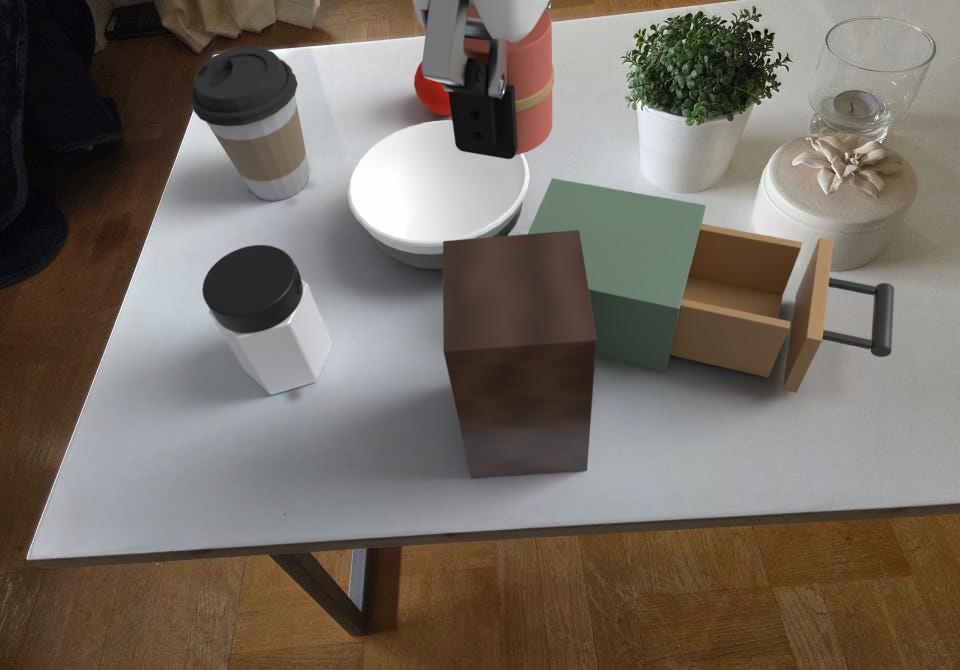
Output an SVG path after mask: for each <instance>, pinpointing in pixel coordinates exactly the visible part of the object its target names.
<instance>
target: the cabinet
mask: <svg viewBox="0 0 960 670" xmlns="http://www.w3.org/2000/svg"><path fill="white" fill-rule="evenodd" d="M706 207H707V205H706V204H700V203H696V202H690V201H685V200H678V199H672V198H668V197H661V196H657V195H656V196H655V195H651V194H646V193H638V192H633V191H627V190H622V189H615V188H611V187H604V186H599V185H595V184H588V183H581V182H576V181H571V180H564V179H558V178H554V177H553V178H551V180H550V182H549V185H548V186H547V189H546V191H545V193H544V196H543V197H542V200H541V203H540V205H539V207H538V209H537V212H536V214H535V216H534V219H533V221H532V223H531V226H530V227H529V230H528V232H527V234H535V233H547V232H559V231H571V230H579V231H580V237H581V243H582V250H583V256H584V262H585V269H586V275H587V281H588V287H589V294H590V300H591V306H592V313H593V319H594V325H595V331H596V338H597V344H596V357H595V358H599V359H600V358H601V359H603V360H609V361H611V362H612V361H613V362H617V363H620V364H624V365H630V366H633V367H638V368H641V369H647V370H649V371H655V372H659V373H663V374H666V373H667V369H668V365H669V361H670V358H671V355H670V352H671V347H672V343H673V338H674V333H675V329H676V324H677V320H678V315H679V310H680V306H681V302H682V298H683V294H684V290H685V287H686V283H687V279H688V275H689V271H690V267H691V263H692V259H693V255H694V251H695V247H696V244H697V240H698V236H699V232H700V228H701V224H703V220H704V216H705V212H706V209H707V208H706Z"/></svg>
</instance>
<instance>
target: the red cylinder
mask: <svg viewBox="0 0 960 670" xmlns="http://www.w3.org/2000/svg"><path fill="white" fill-rule="evenodd" d="M467 17H471V18H479V19H481V18H480V16H479V14H478V12H477V10H476V8H472V7H469V8H468V15H467ZM552 29H553V23H552V16H551V14H550V11H549V12H548V11H547V9H546V8H545V10H544V11H543V13H542V15H541V17H540V18H539V20H538V22H537V23H536V25H535V26H534V28H533V29H532V30H531V31H530V33H529V34H528V35H527V36H526V37H524V38H523V39H522V40H520V41H519V42H517V43H509V42H508V60H507V83H506V84H508V85H512V86H514V87H515V105H516V123H517V142H518V150H517V152H516V154H515V155H518V154H522V153H523V154H524V153H528V152H530V151H532V150H534V149H536V148H538V147H539V146H541V145H542V144H543V143H544V142H545V141H546V140H547V139H548V138H549V136H550V135H551V132H552V129H553V88H554V84H555V68H554V65H553V43H552V42H553V40H552V39H553V34H552V33H553V31H552ZM488 47H489V41H487V40H479V39H471V38H464V51H465V54H466V55H468V57H470V58H476V59H480V60H481V61H482V62H484V63H485V64H486V65H487V66H488Z"/></svg>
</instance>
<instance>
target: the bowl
mask: <svg viewBox="0 0 960 670" xmlns="http://www.w3.org/2000/svg"><path fill="white" fill-rule="evenodd" d="M529 183H530V168H529V163H528V161H527V159H526V157H525V155H524V153H522V154H518V155H515V156H514V158H512V159H504V158H498V157H492V156H486V155H481V154H475V153H469V152H463V151H460V150H459V149H458V148H457V147H456V144H455V137H454V130H453V123H452V120H447V119H445V120H433V121H427V122H422V123H418V124H414V125H410V126H406V127H404V128H402V129H398V130H396V131H394V132H392V133H390V134H389V135H386V136H384V137H383V138H381V139H380V140H378V141H377V142H376V143H374V144H373V145H371V146H370V147H369V148H368V149H367V150H366V151H365V152H364V153H363V154H362V155H361V156H360V157H359V159H358V160H357V162H356V164H355V165H354V167H353V168H352V170H351V172H350V175H349V178H348V181H347V188H346V198H347V203H348V207H349V209H350V211H351V212H352V215H353V216H354V218H355V219H356V221H358V222H359V223H360V224H361V226H362V227H363V229H364V230H365V232H366V234H367V236H368V237H369V239H370V240H371V241H372V243H373V244H374V245H375V246H376V247H377V248H378V249H380V250H381V251H383V252H384V253H386V254H387V255H389V256H390V257H391V258H392V259H395V260H396V261H398V262H400V263H403V264H406V265H408V266H412V267H416V268H421V269H433V270H435V269H436V270H443V241H451V240H463V239H475V238H487V237H499V236H509V235H510V233H511V232H512V231H513V229H514V228H515V227H516V225H517V223H518V221H519V219H520V216H521V215H522V208H523V201H524V198H525V196H526V194H527V191H528V188H529Z"/></svg>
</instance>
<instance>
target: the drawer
mask: <svg viewBox="0 0 960 670" xmlns="http://www.w3.org/2000/svg"><path fill="white" fill-rule="evenodd" d="M802 246H803V242H802V241H800V240H799V241H798V240H793V239H787V238H782V237H777V236H771V235H765V234H760V233H756V232H755V233H754V232H749V231H743V230H739V229H733V228H727V227H721V226H717V225H711V224H706V223H702V224H701V228H700V232H699V236H698V240H697V244H696V247H695V251H694V255H693V259H692V263H691V267H690V271H689V275H688V279H687V283H686V287H685V290H684V294H683V298H682V302H681V306H680V310H679V315H678V320H677V324H676V329H675V333H674V338H673V343H672V347H671V352H670V356H674V357H678V358H682V359H688V360H690V361H694V362H700V363H703V364H708V365H713V366H716V367H721V368H724V369H725V368H726V369H729V370H734V371H738V372H743V373H746V374H751V375H754V376H760V377H764V378H770V376H771V373H772V371H773V369H774V366H775V363H776V361H777V359H778V356H779V354H780V352H781V350H782V347H783V346H784V343H785V340H786V337H787V335H788V333H789V331H790V335H789V341H788V346H787V347H788V348H787V355H786V362H785V369H784V376H783V382H782V390H783V391H786V392H792V393H798V390H799V388H800V387H801V384H802V383H803V380H804V378H805V377H806V374H807V373H808V370H809V368H810V366H811V365H812V362H813V360H814V358H815V356H816V354H817V353H818V350H819V348H820V346H821V344H822V342H823V341H829V342H833V343H838V344H843V345H847V346H853V347H856V348H862V349H865V350H870V353H871V354H872V355H873V356H874V357H878V358H884V357H885V358H886V357H888V356H890V355H891V354H892V350H893V349H892V348H893V329H894V327H893V326H894V309H895V307H894V306H895V287H894V286H893V284H890V283H888V282H881V283H877V285H876V286H875V285H870V284H864V283H860V282H854V281H848V280H845V279H844V280H843V279H838V278H833V277H830V275H831V267H832V258H833V248H834V239H829V238H828V239H827V238H823V237H819V238H818V240H817V243H816V245H815V247H814V250H813V252H812V254H811V257H810V259H809V262H808V264H807V266H806V269H805V272H804V274H803V276H802V279H801V281H800V284H799V286H798V289H797V291H796V294H795V298H794V299H795V300H794V307H793V313H792V320H791V321H792V322H791V321H790V320H785V319H780V315H781V310H782V304H783V297H784V293H785V291H786V288H787V286H788V283H789V280H790V278H791V275H792V273H793V270H794V268H795V265H796V262H797V260H798V257H799V255H800V252H801V250H802ZM829 288H833V289H839V290H844V291H849V292H854V293H859V294H865V295H868V296H869V295H870V296H873V308H872V322H871V323H872V324H871V337H870V339H868V338H864V337H859V336H854V335H850V334H845V333H839V332H836V331H831V330H827V329H824V327H825V319H826V310H827V301H828V293H829Z"/></svg>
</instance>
